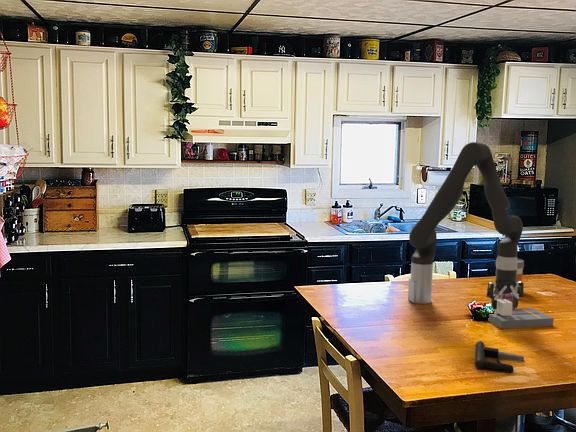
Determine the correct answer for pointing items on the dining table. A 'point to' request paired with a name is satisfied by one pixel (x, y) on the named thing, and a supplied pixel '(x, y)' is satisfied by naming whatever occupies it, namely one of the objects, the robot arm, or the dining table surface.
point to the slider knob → (504, 307)
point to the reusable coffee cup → (518, 270)
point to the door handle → (494, 353)
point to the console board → (521, 319)
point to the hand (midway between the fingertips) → (504, 308)
